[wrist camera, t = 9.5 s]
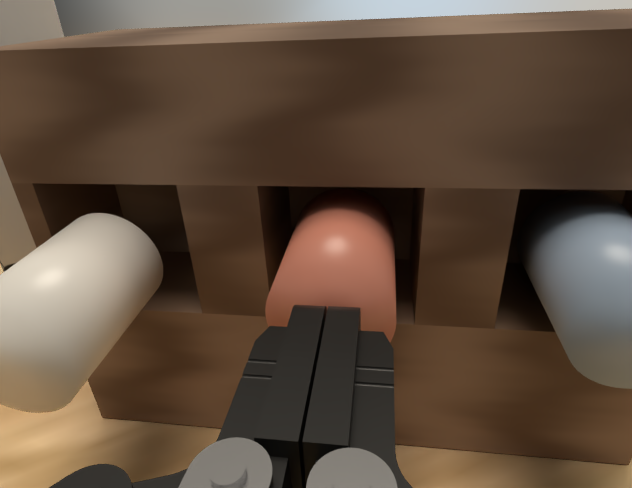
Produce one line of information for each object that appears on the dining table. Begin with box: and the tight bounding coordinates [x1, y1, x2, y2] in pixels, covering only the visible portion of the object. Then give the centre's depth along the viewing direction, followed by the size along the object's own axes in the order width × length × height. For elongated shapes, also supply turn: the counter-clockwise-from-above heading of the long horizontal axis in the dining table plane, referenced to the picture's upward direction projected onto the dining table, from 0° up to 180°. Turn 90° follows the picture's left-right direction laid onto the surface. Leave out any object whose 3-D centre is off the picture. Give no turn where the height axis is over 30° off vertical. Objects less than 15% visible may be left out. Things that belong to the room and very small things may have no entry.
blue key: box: [517, 191, 632, 389], centre depth 12 cm, size 3×4×3 cm
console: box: [0, 9, 632, 465], centre depth 17 cm, size 20×8×14 cm, turn 82°
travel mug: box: [0, 0, 64, 272], centre depth 23 cm, size 6×7×20 cm
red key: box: [265, 188, 396, 342], centre depth 13 cm, size 3×4×3 cm
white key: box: [0, 213, 163, 413], centre depth 12 cm, size 3×4×3 cm
